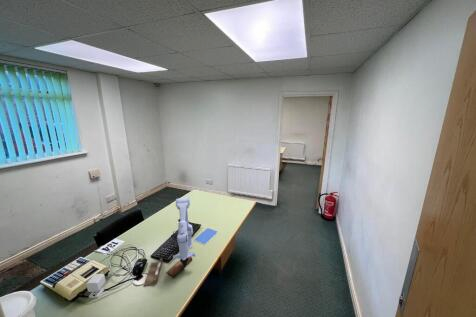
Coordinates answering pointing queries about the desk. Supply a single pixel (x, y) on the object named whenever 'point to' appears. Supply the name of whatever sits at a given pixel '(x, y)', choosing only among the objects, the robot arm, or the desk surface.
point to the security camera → (96, 285)
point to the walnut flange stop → (153, 273)
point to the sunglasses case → (177, 268)
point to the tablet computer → (206, 236)
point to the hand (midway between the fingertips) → (185, 266)
